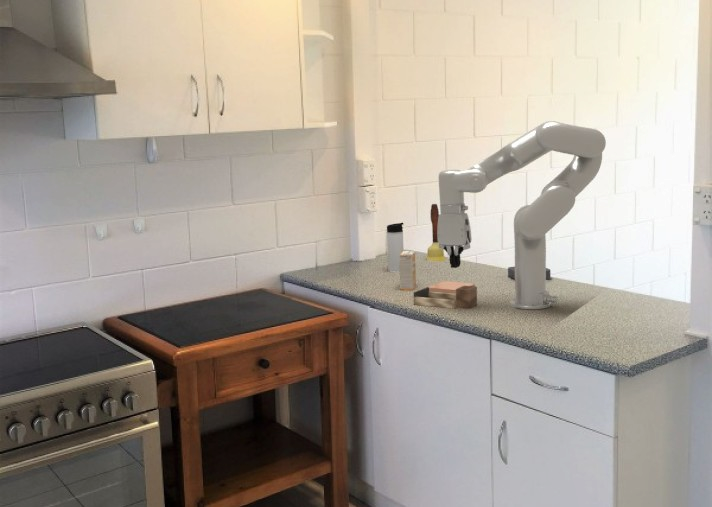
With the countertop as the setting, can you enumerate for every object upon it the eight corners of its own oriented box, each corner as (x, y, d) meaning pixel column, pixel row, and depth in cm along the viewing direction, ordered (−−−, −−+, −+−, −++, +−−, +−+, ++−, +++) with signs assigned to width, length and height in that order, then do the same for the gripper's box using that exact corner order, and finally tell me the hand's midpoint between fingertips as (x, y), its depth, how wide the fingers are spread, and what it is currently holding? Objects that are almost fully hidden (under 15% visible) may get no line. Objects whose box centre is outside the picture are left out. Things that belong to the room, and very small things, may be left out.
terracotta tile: (474, 289, 278) (474, 283, 278) (459, 296, 269) (459, 290, 268) (444, 286, 285) (444, 281, 285) (427, 293, 275) (427, 287, 275)
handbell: (438, 260, 340) (436, 201, 336) (457, 264, 330) (455, 203, 326) (415, 264, 334) (413, 204, 330) (433, 268, 323) (431, 206, 319)
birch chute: (467, 302, 258) (467, 290, 258) (454, 308, 251) (454, 296, 250) (427, 298, 266) (427, 287, 266) (413, 304, 259) (413, 292, 258)
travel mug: (405, 275, 310) (403, 223, 307) (388, 275, 310) (386, 224, 307) (404, 272, 316) (403, 221, 313) (388, 272, 317) (386, 222, 314)
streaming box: (552, 283, 285) (552, 270, 284) (518, 285, 283) (518, 273, 282) (538, 276, 297) (538, 264, 297) (505, 279, 295) (505, 267, 295)
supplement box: (413, 291, 280) (412, 254, 278) (400, 291, 281) (398, 254, 279) (416, 286, 288) (415, 250, 286) (403, 286, 289) (402, 250, 287)
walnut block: (477, 305, 255) (476, 286, 254) (469, 309, 250) (469, 290, 249) (464, 303, 257) (463, 285, 256) (456, 307, 252) (455, 289, 251)
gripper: (479, 208, 250) (482, 265, 253) (437, 208, 258) (440, 264, 261) (468, 211, 244) (471, 270, 247) (425, 211, 252) (429, 268, 255)
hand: (455, 267), depth 254 cm, fingers closed
